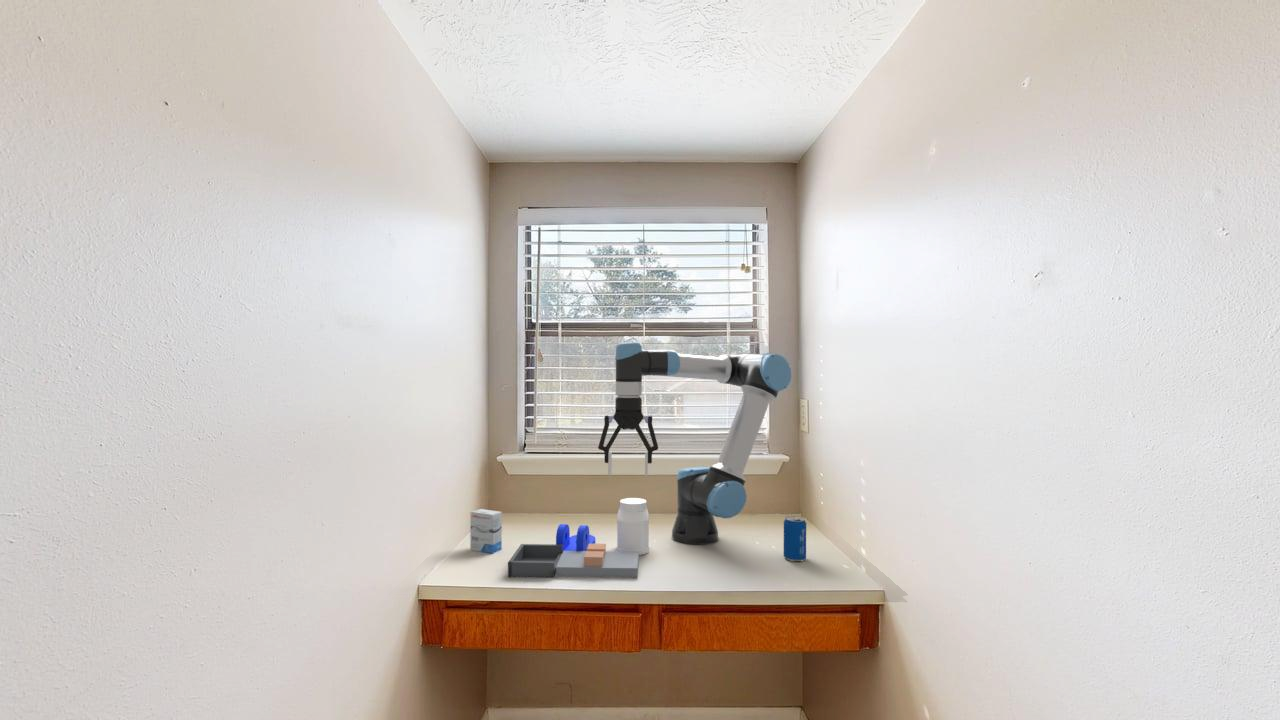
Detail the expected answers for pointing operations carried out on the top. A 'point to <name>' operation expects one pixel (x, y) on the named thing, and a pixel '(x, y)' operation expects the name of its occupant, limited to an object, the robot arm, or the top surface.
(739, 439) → the robot arm
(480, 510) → the ink box
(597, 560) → the tile
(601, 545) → the tile
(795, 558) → the beverage can
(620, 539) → the jar
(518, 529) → the top surface
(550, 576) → the box
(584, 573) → the board
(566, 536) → the bracket
